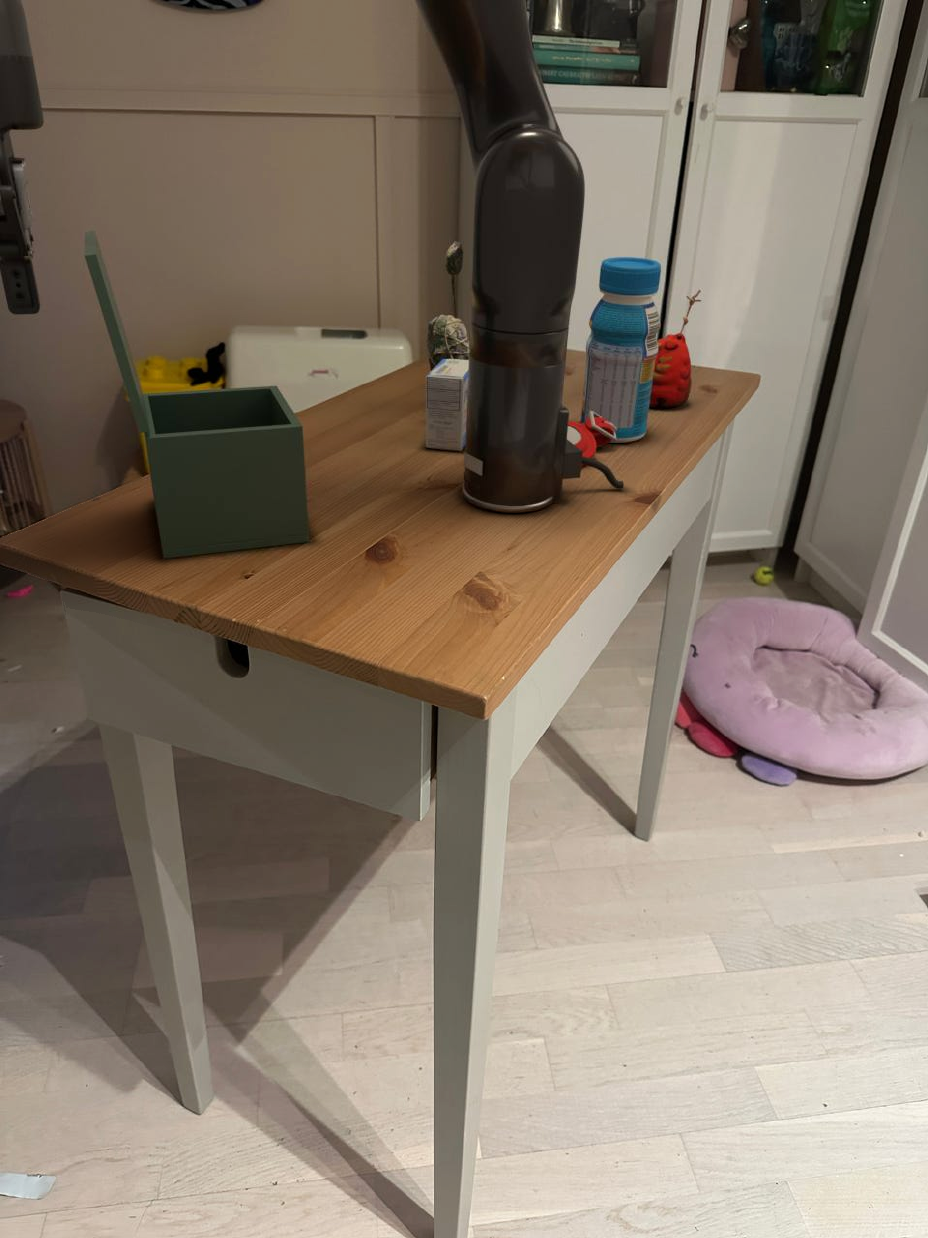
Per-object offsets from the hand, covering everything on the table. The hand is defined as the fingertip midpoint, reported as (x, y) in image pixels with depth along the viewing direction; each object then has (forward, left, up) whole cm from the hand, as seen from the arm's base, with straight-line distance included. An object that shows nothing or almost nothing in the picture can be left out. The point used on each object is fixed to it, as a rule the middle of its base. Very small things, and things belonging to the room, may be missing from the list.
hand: (25, 311), depth 69 cm
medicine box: (-42, -17, -20) cm, 49 cm away
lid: (-7, 0, -2) cm, 7 cm away
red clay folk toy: (-75, -24, -20) cm, 82 cm away
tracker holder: (-54, -9, -20) cm, 58 cm away
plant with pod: (-47, -29, -20) cm, 58 cm away
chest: (-14, 0, -20) cm, 24 cm away
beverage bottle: (-62, -14, -20) cm, 67 cm away
